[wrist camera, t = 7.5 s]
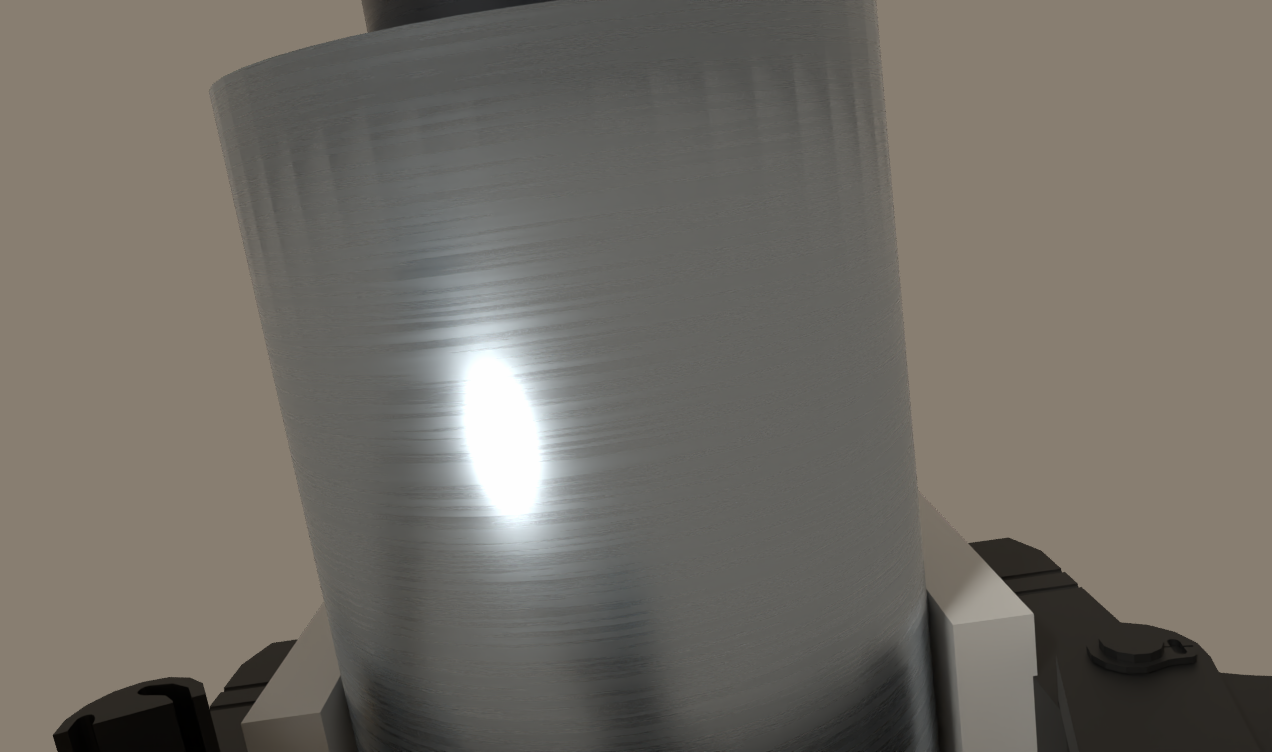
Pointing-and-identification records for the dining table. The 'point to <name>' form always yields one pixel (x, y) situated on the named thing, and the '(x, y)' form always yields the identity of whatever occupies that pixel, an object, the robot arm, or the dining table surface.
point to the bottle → (595, 372)
